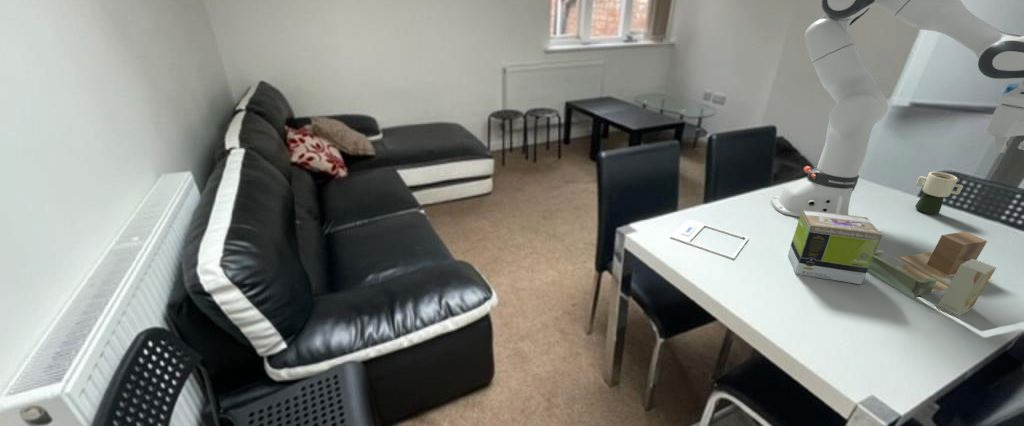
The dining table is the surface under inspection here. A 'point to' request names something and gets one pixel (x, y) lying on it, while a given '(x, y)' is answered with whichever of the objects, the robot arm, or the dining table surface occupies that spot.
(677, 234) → the photo frame
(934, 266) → the walnut block
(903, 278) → the wooden slotted tray
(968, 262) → the skincare box
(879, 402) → the dining table surface
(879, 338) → the dining table surface
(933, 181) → the cream and green cup
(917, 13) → the robot arm
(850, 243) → the tea box
